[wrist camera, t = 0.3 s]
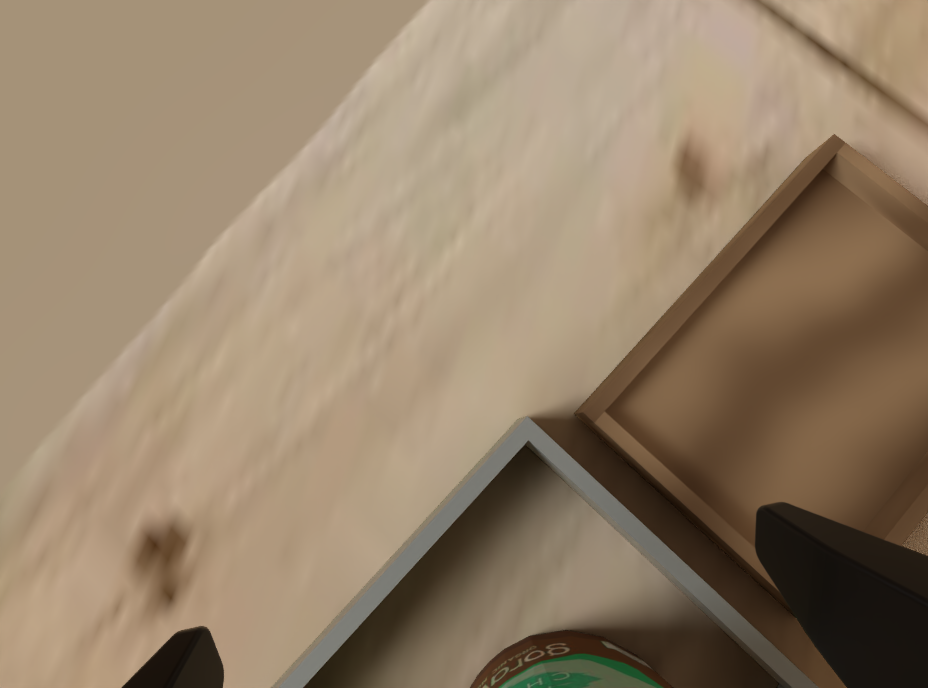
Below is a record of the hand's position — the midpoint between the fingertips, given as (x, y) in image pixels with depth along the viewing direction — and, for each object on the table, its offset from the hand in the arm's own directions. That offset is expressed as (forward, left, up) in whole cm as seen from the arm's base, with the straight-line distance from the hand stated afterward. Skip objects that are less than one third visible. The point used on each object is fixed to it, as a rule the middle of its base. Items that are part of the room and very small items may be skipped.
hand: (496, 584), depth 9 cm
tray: (-7, -13, -14) cm, 21 cm away
